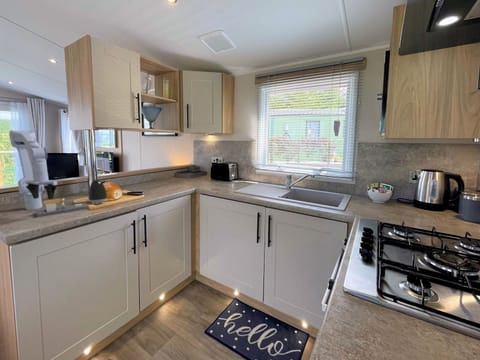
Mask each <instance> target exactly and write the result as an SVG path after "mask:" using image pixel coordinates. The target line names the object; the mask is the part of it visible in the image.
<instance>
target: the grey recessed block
mask: <svg viewBox="0 0 480 360" xmlns="http://www.w3.org/2000/svg"><path fill="white" fill-rule="evenodd" d="M59 203H60V206H56V209H57V211H50V212H46V208H44V209H43V208H42V209H35V214H36V217H37V218H41V217H42V218H43V217H47V216H48V217H49V216H53V215H60V214H65V213H66V214H67V213H71V212H77V211H83V210H89V207H90V206H89V205H88V204H87V203H85V202H82V203H76V204H69V205H65V201H64V202H59Z"/></svg>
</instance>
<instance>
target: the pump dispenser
mask: <svg viewBox="0 0 480 360" xmlns="http://www.w3.org/2000/svg"><path fill="white" fill-rule="evenodd" d="M106 182H107V181H106V180H103V181H102V180H101V179H94V180H93V181H91V183H90V185H89V188H88V195H87V196H88V197H87V198H88V200H89V203H91V204H92V203H94V204H93V205H96V204H97V205H99V204H98V203H103V202H104V203H105V202H106V201H107V200H106V199H108V197H107V196H108V192H107V188H106V186H105V185H104V184H106ZM104 203H103V204H104Z"/></svg>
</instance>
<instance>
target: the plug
mask: <svg viewBox="0 0 480 360" xmlns="http://www.w3.org/2000/svg"><path fill="white" fill-rule="evenodd" d="M44 205H45V209H46V212H50V211H57V209H56V207H57V203H50V204H44Z"/></svg>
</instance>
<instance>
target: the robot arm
mask: <svg viewBox="0 0 480 360" xmlns="http://www.w3.org/2000/svg"><path fill="white" fill-rule="evenodd" d="M8 135H9V140H10V144H11V146H12V148H15V149H16V150H17V152H18V157H19V162H20V166H21V171H22V175H23V177H22V178H21V179H19V180H18V183H17V185H18V187H17V188H18V192H19V194H20V195H21V196H23V201H24V206H25V207H24V209H25V210H28V211H29V210H39V209H41V208H43V207H44V204H43V202H42V201H43V200H42V193H43V192H44V191H46V194H47V199H48V200H54V194H55V191H56V189H57V187H58V181H57V180H53V179H52V180H51V179H50V180H49V173H48V165H47V159H48V151H47V149H46V148H45V147H42V146H41V145H40V143H38V141H36V140H37V136H36V132H35V131H34V130H12V129H10V131H9V133H8Z"/></svg>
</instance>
